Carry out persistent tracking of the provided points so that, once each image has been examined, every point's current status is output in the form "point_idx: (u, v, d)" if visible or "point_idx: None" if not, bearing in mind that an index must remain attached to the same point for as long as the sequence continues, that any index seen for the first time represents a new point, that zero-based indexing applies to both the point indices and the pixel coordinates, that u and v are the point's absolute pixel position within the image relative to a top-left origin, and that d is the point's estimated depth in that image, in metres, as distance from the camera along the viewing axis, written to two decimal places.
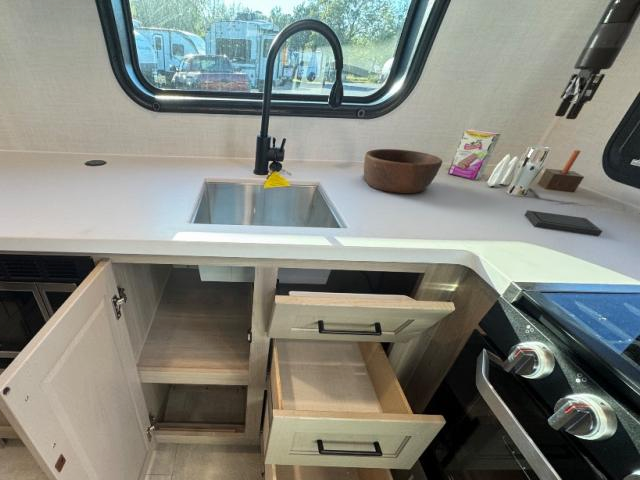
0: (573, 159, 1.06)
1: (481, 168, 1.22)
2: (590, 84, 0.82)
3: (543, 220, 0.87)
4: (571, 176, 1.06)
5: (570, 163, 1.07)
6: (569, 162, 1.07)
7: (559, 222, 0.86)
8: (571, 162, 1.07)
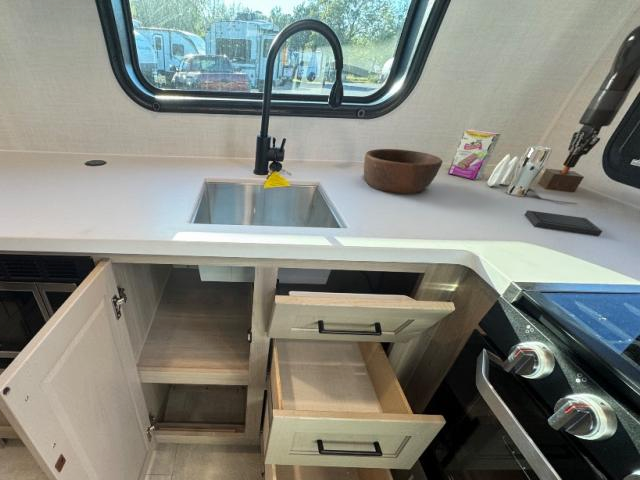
0: None
1: (481, 168, 1.22)
2: (586, 145, 1.00)
3: (543, 220, 0.87)
4: (571, 176, 1.06)
5: None
6: None
7: (559, 222, 0.86)
8: None
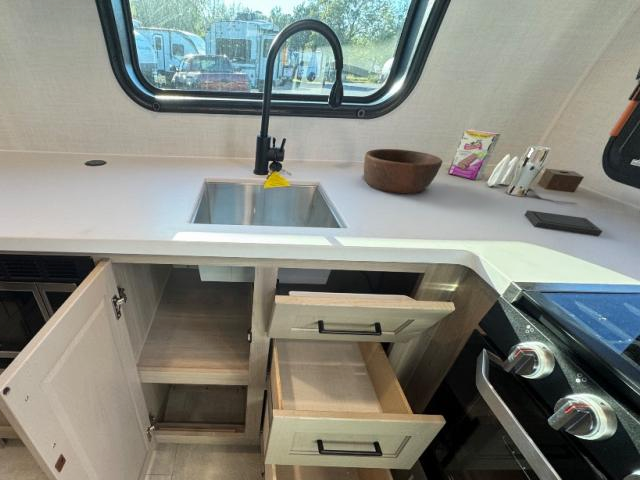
0: None
1: (481, 168, 1.22)
2: None
3: (543, 220, 0.87)
4: (571, 176, 1.06)
5: None
6: None
7: (559, 222, 0.86)
8: None
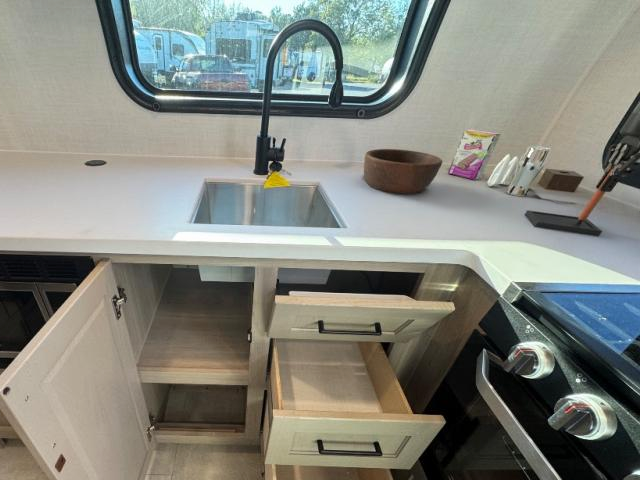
0: None
1: (481, 168, 1.22)
2: (631, 164, 0.73)
3: (542, 221, 0.87)
4: (571, 176, 1.06)
5: None
6: None
7: (558, 223, 0.86)
8: None
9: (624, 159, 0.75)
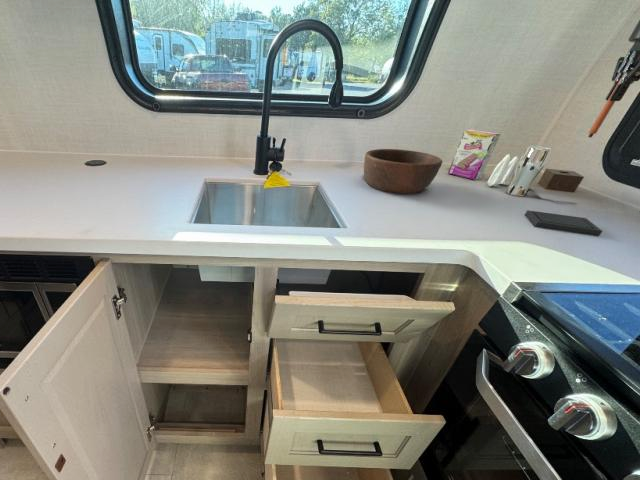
0: None
1: (481, 168, 1.22)
2: None
3: (543, 220, 0.87)
4: (571, 176, 1.06)
5: None
6: None
7: (559, 222, 0.86)
8: None
9: (633, 65, 0.80)
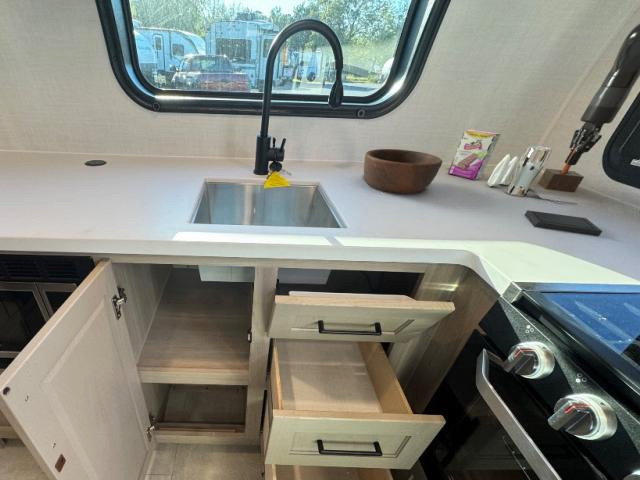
0: None
1: (481, 168, 1.22)
2: (588, 142, 0.99)
3: (543, 220, 0.87)
4: (571, 176, 1.06)
5: None
6: None
7: (559, 222, 0.86)
8: None
9: (583, 140, 1.02)
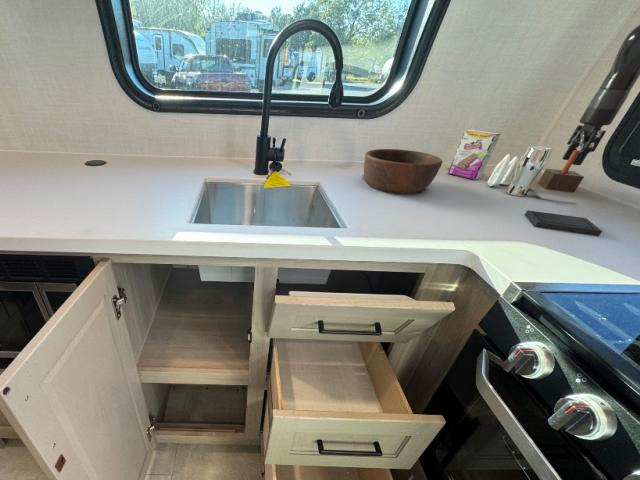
0: (572, 159, 1.06)
1: (481, 168, 1.22)
2: (593, 138, 0.97)
3: (543, 220, 0.87)
4: (571, 176, 1.06)
5: (569, 163, 1.07)
6: (568, 162, 1.07)
7: (559, 222, 0.86)
8: (570, 162, 1.07)
9: None
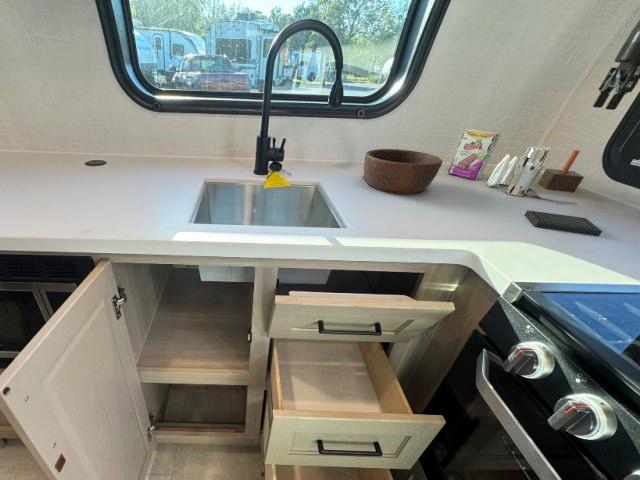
0: (572, 159, 1.06)
1: (481, 168, 1.22)
2: (631, 76, 0.88)
3: (543, 220, 0.87)
4: (571, 176, 1.06)
5: (569, 163, 1.07)
6: (568, 162, 1.07)
7: (559, 222, 0.86)
8: (570, 162, 1.07)
9: None
